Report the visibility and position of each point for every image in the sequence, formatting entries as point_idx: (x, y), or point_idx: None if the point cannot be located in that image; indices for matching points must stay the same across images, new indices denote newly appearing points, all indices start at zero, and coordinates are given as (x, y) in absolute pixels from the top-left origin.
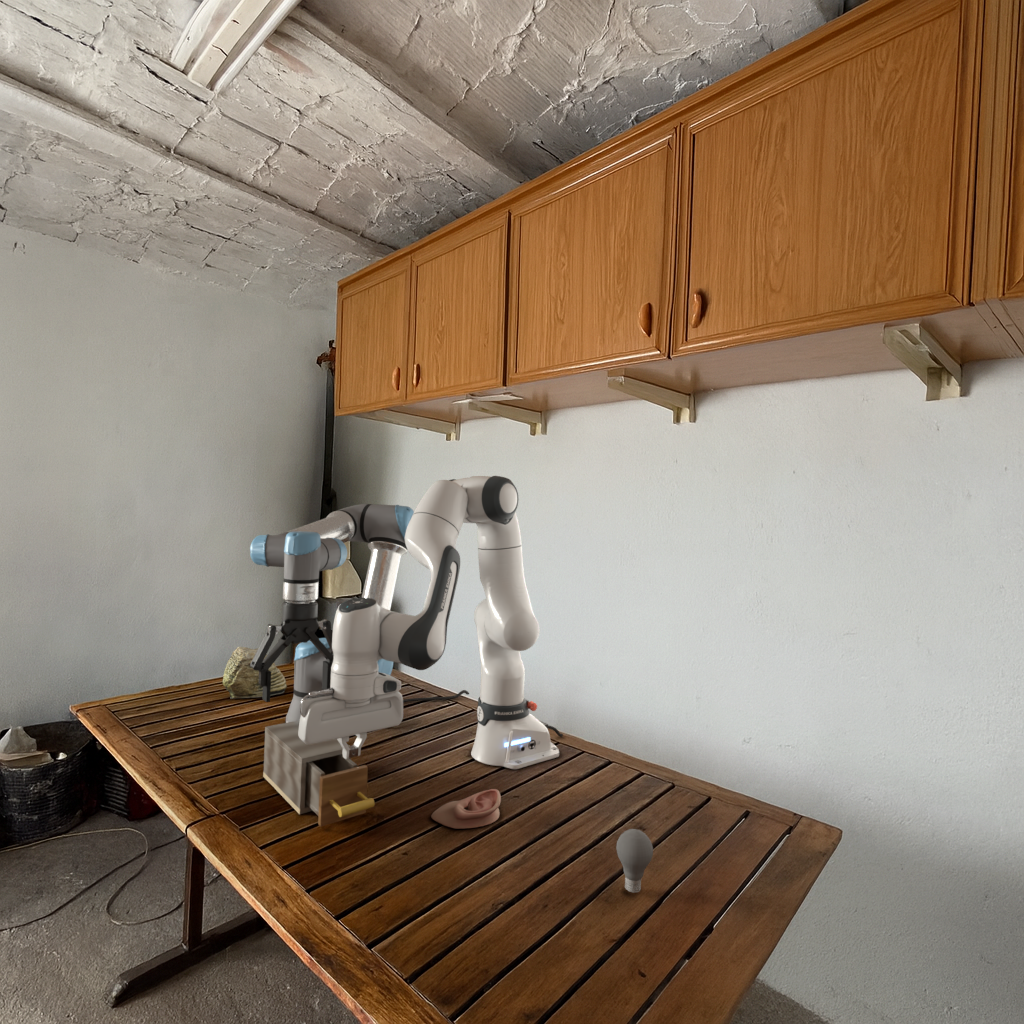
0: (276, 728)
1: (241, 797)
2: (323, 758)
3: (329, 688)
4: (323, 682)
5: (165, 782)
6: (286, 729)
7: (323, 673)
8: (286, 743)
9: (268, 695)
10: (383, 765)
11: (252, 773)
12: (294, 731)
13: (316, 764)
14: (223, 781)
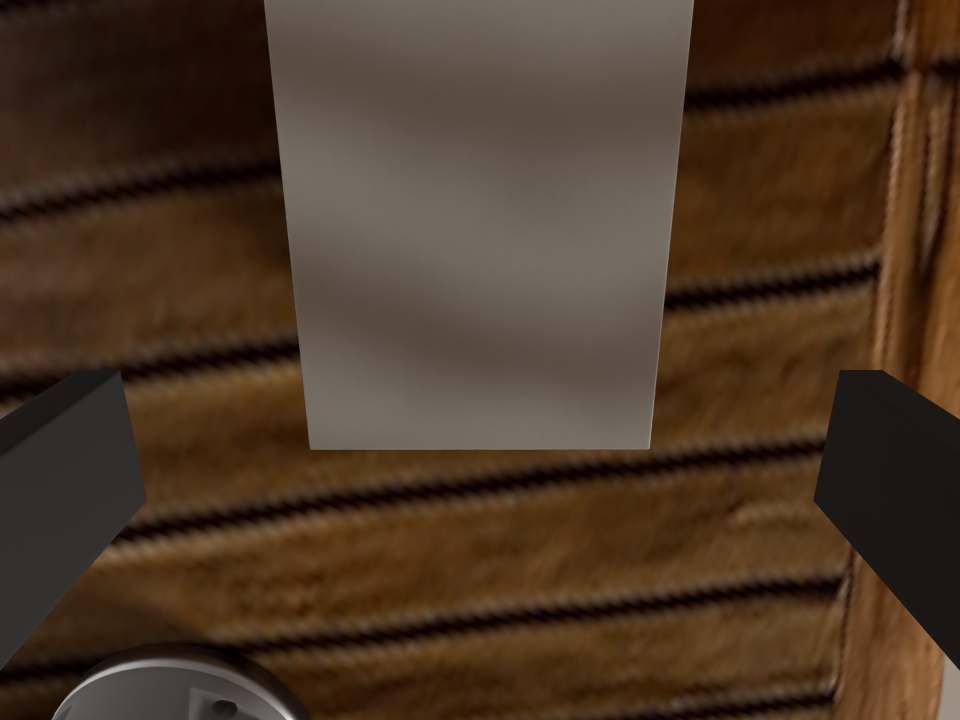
0: (599, 381)
1: (760, 180)
2: None
3: (60, 387)
4: (88, 518)
5: None
6: (549, 326)
7: (8, 616)
8: (676, 30)
9: (909, 404)
10: (16, 119)
11: None
12: (517, 253)
13: None
14: (747, 385)
